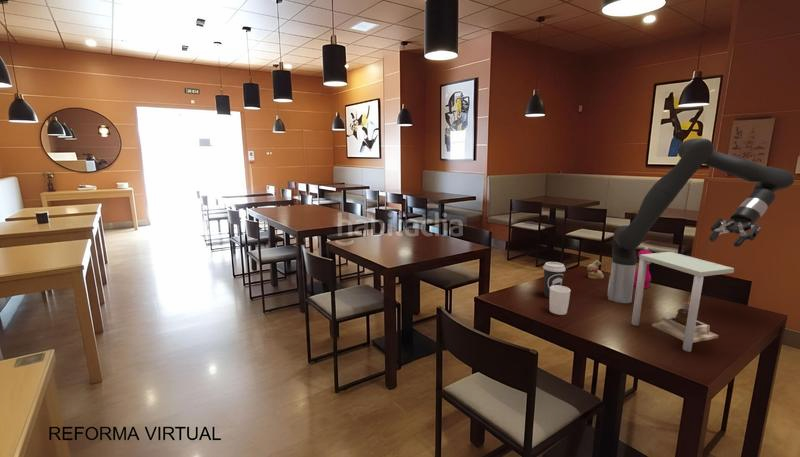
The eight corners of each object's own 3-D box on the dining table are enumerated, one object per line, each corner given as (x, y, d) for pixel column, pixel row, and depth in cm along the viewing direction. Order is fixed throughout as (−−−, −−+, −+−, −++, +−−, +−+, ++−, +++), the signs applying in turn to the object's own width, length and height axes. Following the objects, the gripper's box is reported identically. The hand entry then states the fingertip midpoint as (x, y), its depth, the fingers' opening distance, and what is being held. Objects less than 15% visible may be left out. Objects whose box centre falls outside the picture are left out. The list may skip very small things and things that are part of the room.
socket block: (679, 321, 149) (681, 311, 148) (718, 337, 136) (720, 327, 135) (652, 326, 145) (653, 316, 144) (688, 343, 132) (690, 332, 131)
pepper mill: (652, 289, 183) (658, 249, 179) (636, 288, 185) (641, 248, 181) (646, 284, 190) (651, 245, 186) (630, 283, 192) (635, 244, 188)
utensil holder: (671, 328, 141) (676, 297, 138) (677, 323, 144) (682, 293, 142) (690, 334, 136) (696, 302, 134) (696, 329, 140) (701, 298, 138)
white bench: (659, 318, 151) (669, 251, 146) (720, 345, 130) (735, 268, 125) (629, 323, 147) (638, 254, 142) (687, 352, 126) (701, 272, 120)
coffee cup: (564, 294, 177) (567, 263, 174) (560, 301, 169) (563, 268, 166) (543, 290, 182) (545, 260, 179) (538, 296, 174) (541, 265, 171)
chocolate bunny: (587, 274, 205) (589, 256, 203) (603, 277, 201) (606, 259, 199) (586, 277, 200) (588, 259, 199) (602, 280, 196) (605, 261, 194)
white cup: (566, 317, 152) (568, 293, 150) (546, 312, 156) (548, 289, 154) (569, 310, 159) (572, 287, 157) (549, 306, 163) (551, 284, 161)
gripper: (725, 203, 153) (699, 232, 152) (767, 208, 139) (740, 240, 138) (732, 215, 155) (707, 245, 154) (774, 221, 142) (747, 253, 141)
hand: (723, 243), depth 146 cm, fingers open, 8 cm apart
